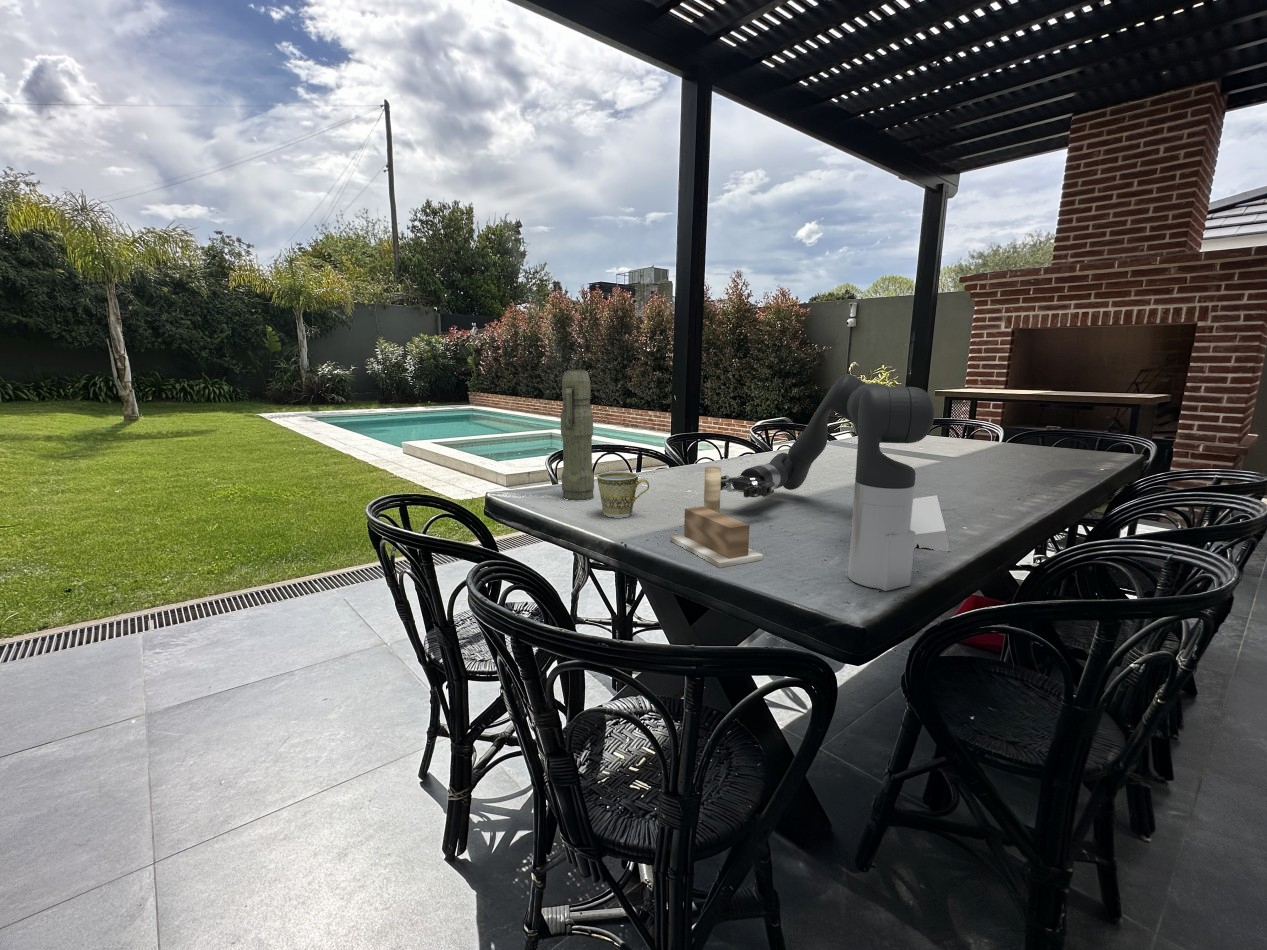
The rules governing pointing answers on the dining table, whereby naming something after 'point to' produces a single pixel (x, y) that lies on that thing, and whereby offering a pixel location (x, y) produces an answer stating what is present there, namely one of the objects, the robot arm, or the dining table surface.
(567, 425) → the thermos
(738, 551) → the stand
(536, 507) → the dining table surface
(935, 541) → the decorative molding
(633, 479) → the ceramic cup
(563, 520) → the dining table surface
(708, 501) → the dowel
